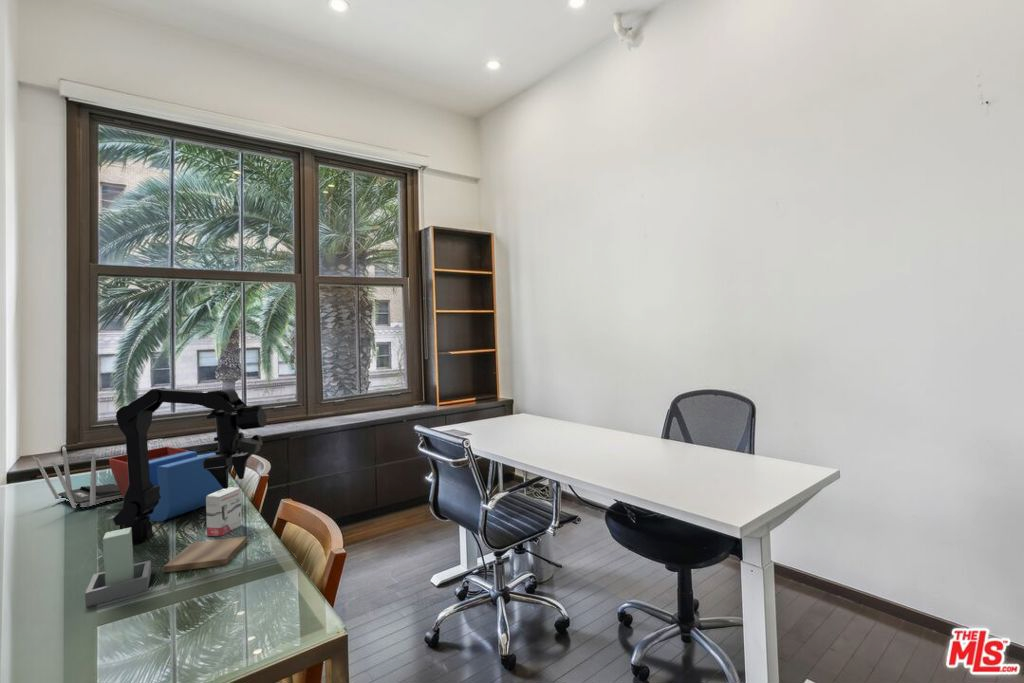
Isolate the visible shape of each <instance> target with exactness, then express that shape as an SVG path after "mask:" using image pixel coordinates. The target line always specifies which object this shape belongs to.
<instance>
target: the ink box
mask: <svg viewBox="0 0 1024 683" xmlns="http://www.w3.org/2000/svg"><path fill="white" fill-rule="evenodd" d="M205 510H206V512H205V513H206V536H207V537H208V536H209V537H222V536H224V535H226V534H227V533H229V532H232V531H234V530H236V529H238V528H239V527H241V526H242V525H243V524H242V522H243V519H242V517H243V516H242V490H241V487H234V486H233V487H232V486H228V488H227V489H222V490H219V491H217V492H214V493H212V494H209V495H207V497H206V506H205ZM233 529H234V530H233ZM231 530H232V531H231Z"/></svg>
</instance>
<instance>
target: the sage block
mask: <svg viewBox="0 0 1024 683" xmlns="http://www.w3.org/2000/svg"><path fill="white" fill-rule="evenodd" d="M102 545H103V546H102V547H103V548H102V549H103V563H104V565H103V567H104V572H105V585H106V586H108V585H112V584H116V583H120V582H124V581H128V580H132V579H135V578H134V564H135V563H134V551H133V544H132V528H131V527H130V528H125V529H120V528H119V529H117V530H116V529H115V530H112V531H107V532H105V533H104V536H103V538H102Z"/></svg>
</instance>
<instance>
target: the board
mask: <svg viewBox="0 0 1024 683" xmlns="http://www.w3.org/2000/svg"><path fill="white" fill-rule="evenodd" d="M247 542H248V536H245V535H244V536H240V537H239V536H238V537H237V536H236V537H231V538H222V539H212V540H210V539H209V540H203V541H195V542H191V543H190V544H189V545H187V546H186V547H185V548H183V549H182V550H181V551H180V552H179V553H178V554H177V555H175V556H174V557H173V558H172V559H170V560H169V562H167V563H166V564H165V565H164V566H163V573H170V572H178V571H180V572H181V571H186V570H188V571H189V570H195V569H203V568H212V567H218V566H220V567H221V566H226V565H228V563H229V562H230V561H231V560H232V559H233V558H234V557H235V555H236V554H238V552H239V551H240V550H241V549H242V548H243V547H244V546H245V545H246V544H245V543H247ZM244 544H245V545H244ZM233 556H234V557H233ZM232 557H233V558H232ZM231 558H232V559H231ZM230 559H231V560H230ZM229 560H230V561H229Z"/></svg>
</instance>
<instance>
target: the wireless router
mask: <svg viewBox="0 0 1024 683" xmlns="http://www.w3.org/2000/svg"><path fill="white" fill-rule="evenodd" d="M61 450H62V452H61V453H62V460H63V468H64V469H63V470H64V476H63V474H62V472H61V470H60V468H59V465H58V464H56V463H55V462H53V461H51V465H52V467H53V469H54V470H55V473H56V475H57V478H58V479H59V481H60V484H61V486H62V488H63V490H64V491H63V492H59V493H58V492H57V491H56V489H55V487H54V485H53V484H52V481H51V480H50V477H49V476H48V474H47V472H46V470H45V468H44V467H43V465H42V463H41V461H40V459H39V458H38V457H36V456H35V455H32V458H33V460H34V462H35V464H36V465H37V467H38V470H40V472H41V475H42V477H43V478H44V480H45V483H46V484H47V486H48V488H49V489H50V491H51V493H52V495H53V496H54V499H55V500H56V499H59V498H66V499H68V500H69V501H70V503H69V504H70V505H71V507H72V509H73V508H75V507H77V508H78V506H82V507H83V506H89V505H95V504H97V503H101V502H105V501H109V500H114V499H118V500H120V499H119V498H122V499H124V498H123V495H122V493H121V492H120V490H119V487H118V485H117V484H114V483H109V484H102V485H96V483H97V479H96V476H97V475H96V473H97V470H96V469H97V468H96V467H97V464H96V463H97V462H96V460H97V458H96V457H97V455H96V453H93V454H92V456H91V458H90V459H91V461H90V462H91V463H90V464H91V465H90V484H89V485H87V486H86V485H84V486H80V488H76V489H73V487H72V486H73V485H72V481H71V480H72V479H71V474H70V473H71V472H70V466H69V461H68V460H69V458H68V453H67V448H66V446H62V448H61ZM75 503H76V504H77V505H76V504H75ZM95 506H96V505H95ZM75 509H76V508H75Z"/></svg>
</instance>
